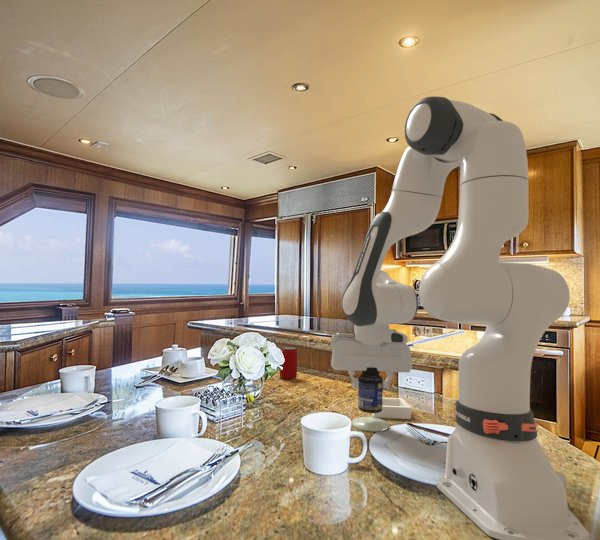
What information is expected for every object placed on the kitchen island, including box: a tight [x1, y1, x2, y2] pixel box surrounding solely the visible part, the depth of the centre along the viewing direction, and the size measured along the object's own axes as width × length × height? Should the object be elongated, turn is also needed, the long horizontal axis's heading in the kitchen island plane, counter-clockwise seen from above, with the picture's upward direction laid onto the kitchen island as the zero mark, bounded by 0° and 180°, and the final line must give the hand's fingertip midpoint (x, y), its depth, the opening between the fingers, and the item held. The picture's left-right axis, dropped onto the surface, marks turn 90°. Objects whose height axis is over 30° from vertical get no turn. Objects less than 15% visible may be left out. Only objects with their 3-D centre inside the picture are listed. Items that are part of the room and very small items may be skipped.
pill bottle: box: [357, 367, 384, 414], centre depth 99 cm, size 6×6×11 cm
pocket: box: [371, 397, 412, 420], centre depth 110 cm, size 10×10×3 cm
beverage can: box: [279, 346, 298, 380], centre depth 154 cm, size 7×7×12 cm
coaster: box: [351, 416, 389, 433], centre depth 99 cm, size 9×9×1 cm
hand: (370, 388), depth 99 cm, fingers closed on pill bottle, 6 cm apart
